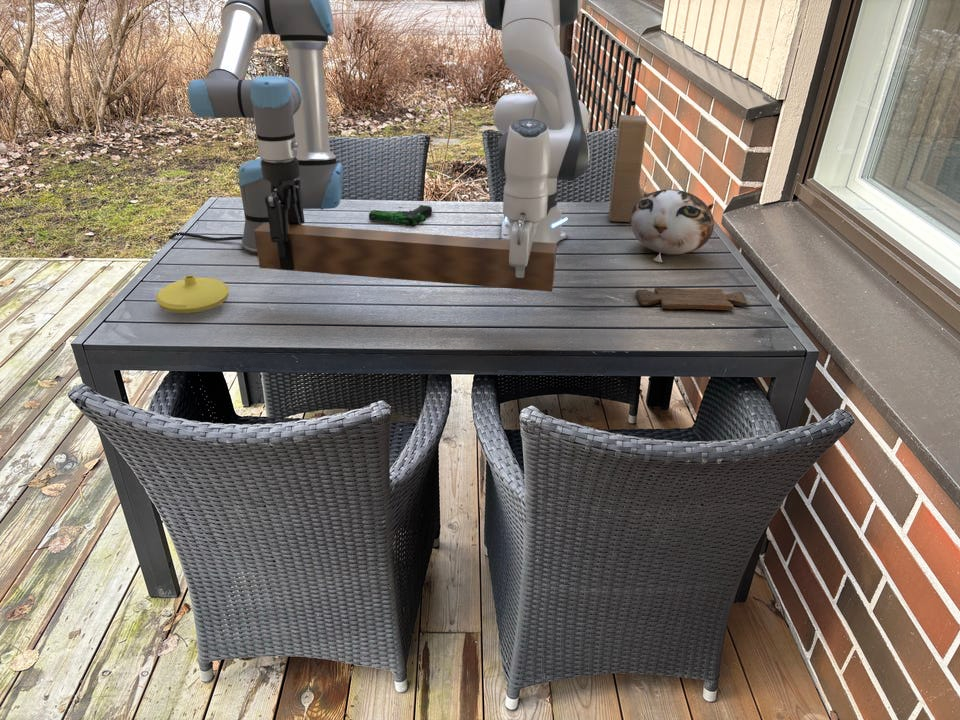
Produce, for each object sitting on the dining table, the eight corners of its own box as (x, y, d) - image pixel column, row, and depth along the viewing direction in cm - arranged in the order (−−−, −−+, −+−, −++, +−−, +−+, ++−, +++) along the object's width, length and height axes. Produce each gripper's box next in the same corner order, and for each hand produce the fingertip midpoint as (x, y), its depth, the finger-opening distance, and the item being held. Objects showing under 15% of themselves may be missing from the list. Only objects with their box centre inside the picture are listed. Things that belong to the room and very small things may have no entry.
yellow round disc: (203, 285, 174) (198, 258, 170) (245, 302, 166) (240, 274, 162) (144, 308, 163) (137, 279, 159) (186, 328, 155) (179, 298, 151)
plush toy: (610, 241, 188) (634, 172, 190) (626, 265, 204) (648, 200, 205) (693, 258, 178) (718, 184, 179) (703, 281, 193) (726, 213, 195)
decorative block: (659, 224, 215) (674, 122, 200) (609, 221, 217) (620, 119, 201) (657, 216, 221) (672, 116, 206) (608, 213, 223) (619, 114, 208)
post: (259, 268, 157) (253, 230, 153) (269, 258, 162) (264, 222, 157) (552, 292, 148) (554, 253, 144) (554, 281, 153) (556, 243, 148)
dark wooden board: (752, 313, 165) (739, 295, 174) (753, 306, 165) (741, 288, 173) (640, 309, 166) (633, 291, 174) (641, 302, 165) (634, 284, 173)
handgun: (437, 205, 219) (415, 219, 207) (438, 215, 220) (415, 229, 208) (391, 199, 224) (366, 212, 212) (391, 208, 226) (367, 222, 214)
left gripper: (278, 172, 138) (293, 282, 150) (312, 147, 154) (323, 249, 165) (242, 169, 139) (259, 279, 151) (279, 145, 154) (292, 246, 166)
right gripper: (536, 225, 133) (532, 292, 141) (544, 191, 151) (540, 252, 158) (502, 222, 134) (500, 289, 141) (515, 189, 152) (512, 250, 159)
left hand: (292, 263), depth 158 cm, fingers closed on post, 5 cm apart
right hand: (521, 269), depth 150 cm, fingers closed on post, 5 cm apart
